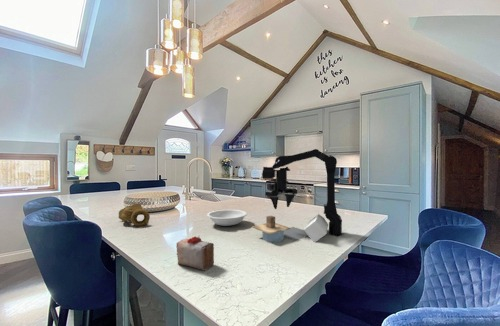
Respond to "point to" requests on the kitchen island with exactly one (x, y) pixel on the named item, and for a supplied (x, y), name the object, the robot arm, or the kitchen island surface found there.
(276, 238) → the ceramic bowl
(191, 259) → the food item
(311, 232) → the milk carton
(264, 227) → the oak lid
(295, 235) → the rubber mat
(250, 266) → the kitchen island surface
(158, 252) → the kitchen island surface
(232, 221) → the soup bowl
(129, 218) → the brown looped sculpture
